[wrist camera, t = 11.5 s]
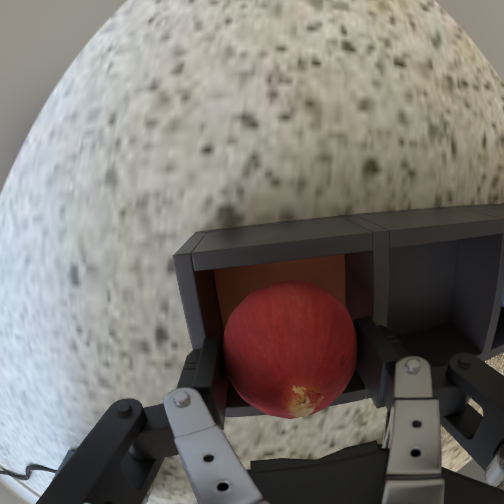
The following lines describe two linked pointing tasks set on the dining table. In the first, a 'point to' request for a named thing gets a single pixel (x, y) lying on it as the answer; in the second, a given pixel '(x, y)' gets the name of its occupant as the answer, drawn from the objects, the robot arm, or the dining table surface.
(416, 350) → the holder
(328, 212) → the dining table surface
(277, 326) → the onion
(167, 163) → the dining table surface
